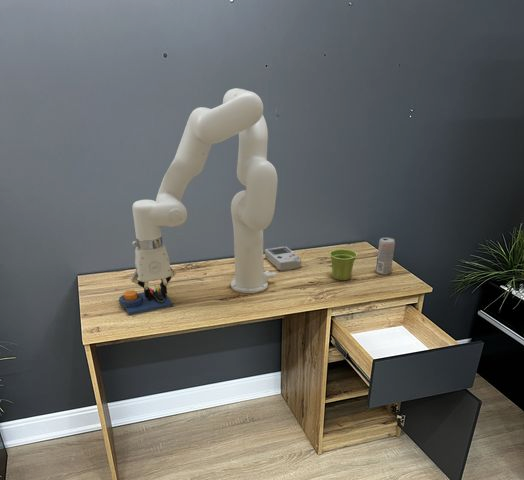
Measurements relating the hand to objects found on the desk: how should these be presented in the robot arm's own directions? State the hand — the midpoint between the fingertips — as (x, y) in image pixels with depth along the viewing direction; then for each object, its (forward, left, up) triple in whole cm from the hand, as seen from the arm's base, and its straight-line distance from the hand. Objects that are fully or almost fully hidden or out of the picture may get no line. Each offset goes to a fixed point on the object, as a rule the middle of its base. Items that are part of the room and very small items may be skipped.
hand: (156, 297), depth 164 cm
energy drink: (-80, +14, -2) cm, 81 cm away
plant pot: (-64, +11, -2) cm, 64 cm away
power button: (+8, 0, +1) cm, 8 cm away
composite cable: (0, 0, 0) cm, 0 cm away
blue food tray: (+3, 0, -1) cm, 4 cm away
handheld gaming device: (-52, -10, -2) cm, 53 cm away
